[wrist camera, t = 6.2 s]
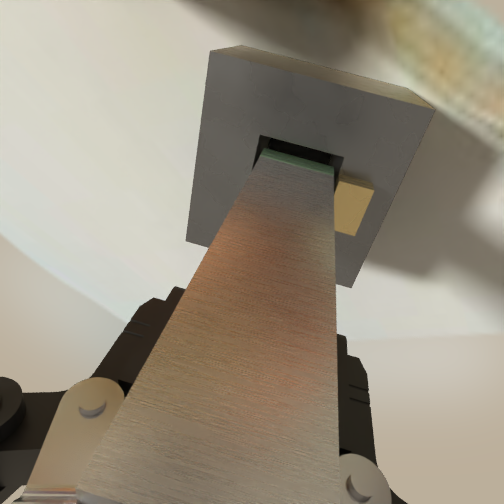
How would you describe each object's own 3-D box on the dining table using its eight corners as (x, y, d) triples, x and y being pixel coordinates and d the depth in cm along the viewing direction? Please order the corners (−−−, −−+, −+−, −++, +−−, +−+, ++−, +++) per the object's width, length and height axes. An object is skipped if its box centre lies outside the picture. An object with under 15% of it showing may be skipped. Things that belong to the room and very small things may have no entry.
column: (333, 166, 20) (343, 573, 5) (312, 228, 22) (274, 638, 7) (264, 147, 20) (73, 487, 5) (249, 210, 23) (86, 576, 7)
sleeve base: (407, 88, 25) (441, 114, 17) (346, 233, 32) (352, 299, 24) (241, 45, 26) (203, 51, 18) (215, 196, 32) (179, 249, 24)
